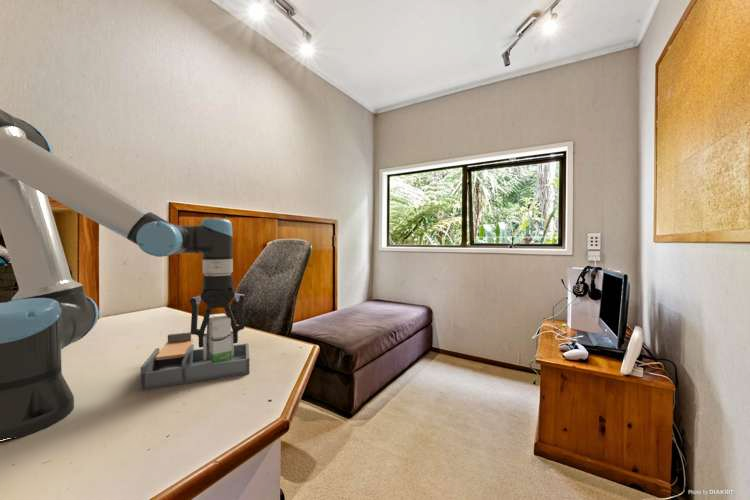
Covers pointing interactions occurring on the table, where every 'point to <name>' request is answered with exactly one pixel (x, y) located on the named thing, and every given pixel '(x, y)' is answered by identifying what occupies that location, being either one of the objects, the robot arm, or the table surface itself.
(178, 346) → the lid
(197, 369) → the tray
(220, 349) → the ink box
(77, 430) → the table surface
